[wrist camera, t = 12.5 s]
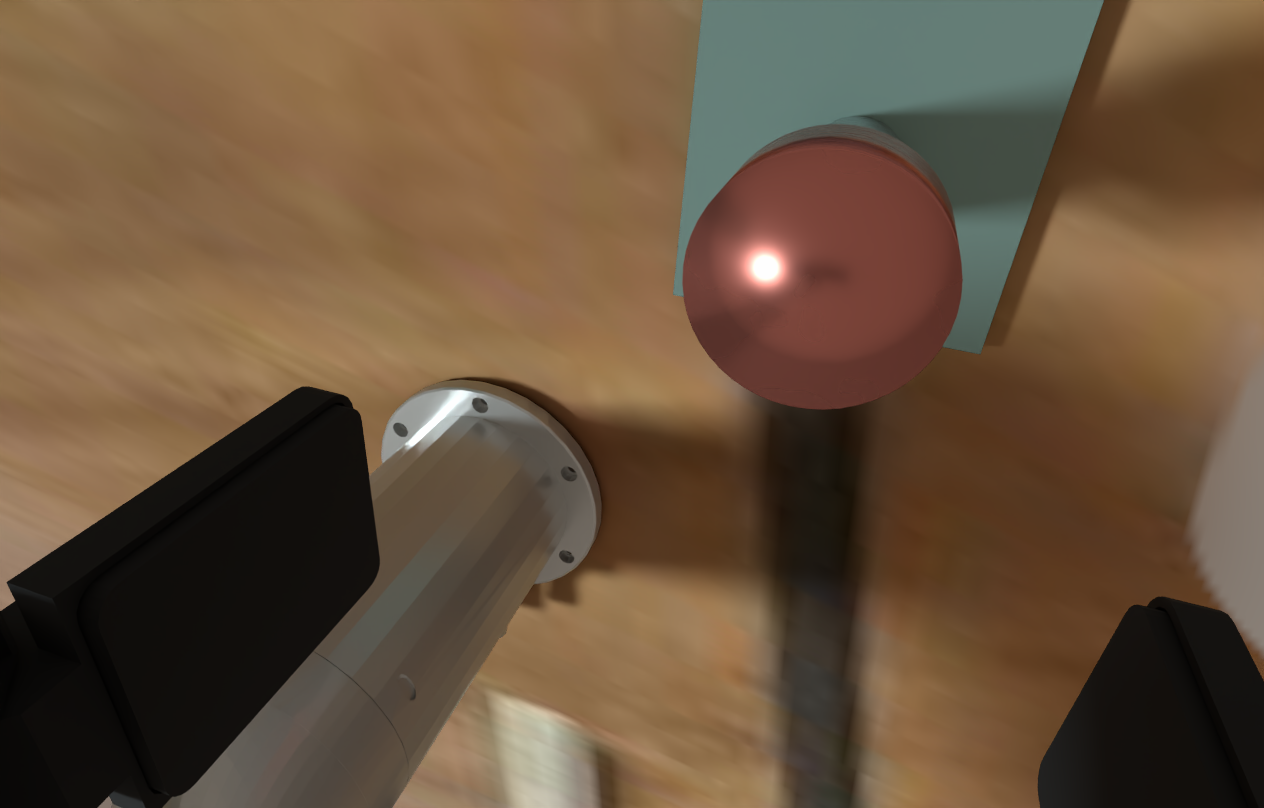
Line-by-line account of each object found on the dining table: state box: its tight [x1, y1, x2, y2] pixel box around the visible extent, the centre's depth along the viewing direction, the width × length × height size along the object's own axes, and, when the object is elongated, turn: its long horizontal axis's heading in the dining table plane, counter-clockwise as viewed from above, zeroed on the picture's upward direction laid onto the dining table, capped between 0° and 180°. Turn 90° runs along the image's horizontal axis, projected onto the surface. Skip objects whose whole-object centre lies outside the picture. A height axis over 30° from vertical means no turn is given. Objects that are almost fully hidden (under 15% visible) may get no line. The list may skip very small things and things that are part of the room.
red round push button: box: [682, 116, 963, 409], centre depth 21 cm, size 6×6×12 cm
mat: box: [673, 0, 1104, 354], centre depth 27 cm, size 12×12×1 cm
